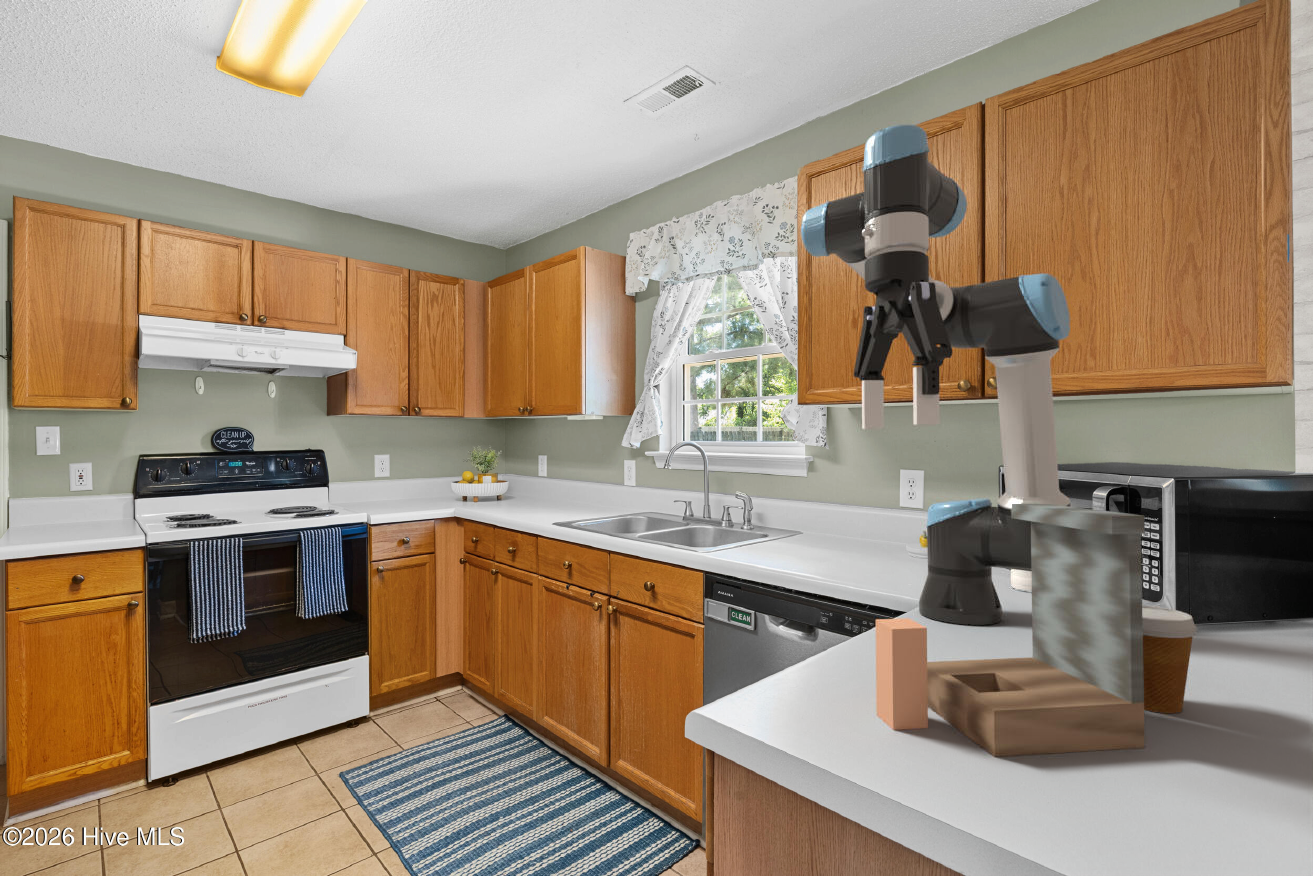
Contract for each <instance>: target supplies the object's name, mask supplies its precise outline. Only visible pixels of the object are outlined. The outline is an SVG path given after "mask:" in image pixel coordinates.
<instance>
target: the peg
mask: <svg viewBox="0 0 1313 876" xmlns="http://www.w3.org/2000/svg"><path fill="white" fill-rule="evenodd" d="M927 662H928V628H927V627H926V626H924V625H922V624H920V623H918V622H916V621H915V620H912V619H911V618H904V617H903V618H885V619H883V618H882V619H881V618H877V619H875V681H876V682H875V684H876V685H875V688H876V690H875V692H876V696H875V697H876V704H875V705H876V706H875V707H876V716H877V717H878V718H879V719H881V720H882V721H883V722H884V723H885V724H886V725H887V726H888V727H889V728H891V730H893V731H897V730H898V731H899V730H914V729H915V730H917V729H929V707H928V686H927Z"/></svg>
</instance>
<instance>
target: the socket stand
mask: <svg viewBox="0 0 1313 876" xmlns="http://www.w3.org/2000/svg"><path fill="white" fill-rule="evenodd" d="M1145 517H1146V516H1145V515H1142V514H1141V515H1140V514H1134V513H1125V512H1118V511H1117V512H1116V511H1109V510H1101V509H1100V510H1099V509H1093V508H1085V507H1084V508H1083V507H1076V506H1075V507H1074V506H1070V507H1067V506H1059V505H1050V504H1042V503H1011V518H1014V519H1021V520H1027V521H1031V571H1032V593H1031V620H1032V621H1031V623H1032V625H1031V627H1032V628H1031V629H1032V630H1031V632H1032V639H1031V640H1032V656H1030V657H1011V658H1010V657H1009V658H991V659H990V658H988V659H984V658H983V659H972V660H971V659H965V660H964V659H963V660H944V661H943V660H941V661H927V686H928V709H930V708H931V709H932V712H934V713H935V712H936V714H937V715H938V716H939V715H940V716H939V717H941V718H942V717H943V718H944V719H943V718H942V719H943V720H945V719H946V720H947V721H948V722H947V721H946V720H945V721H946V722H947V723H949V724H950V725H951V724H952V726H953V727H954V728H955V729H957V730H958V731H959V732H961V733H962V734H963V735H965V736H966V737H967V738H969V739H970V740H972V741H973V742H974V743H976V744H977V745H978V746H980V747H981V748H982V749H984V750H985V751H986V752H987V753H989V754H990V755H991V756H993V757H994V758H996V757H997V758H999V757H1000V758H1001V757H1012V756H1014V757H1015V756H1016V757H1017V756H1030V755H1045V754H1046V755H1047V754H1060V753H1076V752H1078V753H1079V752H1094V751H1107V750H1111V751H1112V750H1126V749H1141V748H1143V749H1144V748H1145V710H1144V680H1143V622H1142V605H1143V572H1142V571H1143V570H1142V568H1143V567H1142V564H1143V563H1142V534H1145V533H1146V531H1145V530H1146V528H1145V527H1146V524H1145V519H1146V518H1145ZM931 709H930V710H931Z"/></svg>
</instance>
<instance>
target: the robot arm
mask: <svg viewBox="0 0 1313 876" xmlns="http://www.w3.org/2000/svg"><path fill="white" fill-rule="evenodd" d="M929 152H930V148H929V144H928V134H927V132H926V131H925V129H924V128H922V127H920V126H917V125H914V124H896V125H891V126H888V127H885V128H883V129H881V130H878V131H876V132H875V133H874V134H872V135H871V136H870V137H869V138H868V139H867V141H866V142H865V146H864V154H863V155H864V156H863V167H862V172H863V191H862V192H859V193H858V192H857V193H855V194H851V195H848V196H844V197H842V198H841V197H840V198H838V199H835V200H832V201H831V200H828V201H826V202H825V203H822V204H820V205H816V206H815V207H814V206H813V207H812V208H810V209H808V210H807V211H806V212H805V213H804V214H803V216H802V220H801V226H800V235H801V236H800V237H801V240H802V243H803V246H804V248H805V250H806V251H807V252H808V253H809V254H810V255H812V256H813V257H817V258H818V257H819V258H820V257H823V256H825V257H829V256H831V255H835V256H836V257H838V258H839V259H840V260H841V261H842V262H844V263H845V264H846V265H847V266H849V267H850V268H851V270H853V271H854V272H855V273H856V274H858V276H860V278H862V279H863V280H864V288H865V290H866V291H868V292H869V293H873V294H874V295H875V296H876V297H875V305H874V306H872V305H869V306H867V305H865V306H864V307H863V310H862V311H863V314H862V316H863V317H862V327H861V333H860V336H859V337H860V338H859V341H858V342H859V343H858V347H857V353H856V358H855V365H854V369H853V377H854V379H855V378H859V381H860V382H861V407H862V408H861V420H862V421H861V422H862V423H861V424H862V425H861V428H862V430H883V429H885V425H884V424H885V418H884V417H885V408H884V407H885V402H884V400H885V395H884V392H885V391H884V390H885V389H884V384H885V383H884V381H885V377H884V376H883V374H882V372H883V369H884V367H885V364H886V361H887V359H888V356H889V352H890V350H891V347H892V344H893V342H894V340H895V339H897V338H898V337H899V335H900V333H901V334H902V335H903V337H904V339H905V342H906V343H907V345H908V347H909V349H910V352H911V354H912V355H913V357H914V359H913V361H912V364H911V365H912V366H913V367H912V390H913V391H912V392H913V395H912V398H913V399H912V400H913V407H912V408H913V409H912V411H913V412H912V413H913V415H912V416H913V418H912V419H913V425H914V426H917V425H918V426H926V425H927V426H930V425H931V426H939V425H941V424H940V390H941V389H940V385H941V384H940V368H941V366H943V363H944V360H945V359H950V358H952V356H953V348H956V349H962V350H963V349H964V350H965V349H967V350H968V349H979V348H984V357H985V359H986V360H987V361H988V362H990V363H991V364H993V366H994V367H995V368H994V369H995V377H996V391H997V402H998V403H997V404H998V415H999V416H998V417H999V426H1000V427H999V428H1000V429H999V430H1000V439H1001V441H1000V442H1001V450H1002V451H1001V453H1002V463H1003V465H1002V466H1003V475H1004V477H1003V478H1004V485H1005V486H1004V487H1005V492H1004V493H1003V494H1002V495H1001V496H1000V497H999V498H998V499H997V506H992V505H993V503H992V502H991V499H989V498H975V499H974V498H971V499H960V500H950V501H941V502H935V503H933V504H931V505H930V506H929V508H927V521H926V522H927V524H926V525H925V526H926V534H927V535H926V536H927V537H926V539H927V541H926V542H927V544H926V546H927V576H926V579H925V582H924V585H923V589H922V591H921V594H920V598H919V599H918V611H919V613H920V614H921V616H923V617H926V618H928V619H932V620H935V621H939V622H943V621H944V623H949V622H950V624H958V625H959V624H960V625H968V624H970V626H973V625H974V626H981V625H982V626H983V625H985V626H986V624H987V625H993V624H999V623H1000V622H1002V621H1003V608H1002V605H1001V601H1000V599H999V596H998V592H997V590H996V588H995V584H994V582H993V574H992V568H999V569H1006V570H1007V569H1008V570H1011V569H1015V570H1023V571H1031V521H1027V520H1021V519H1014V518H1011V503H1042V504H1050V505H1059V506H1067V507H1071V501H1070V498H1069V497H1068V496H1066V495H1065V494H1064V493H1062V492H1061V491H1060V482H1059V469H1058V457H1057V455H1058V454H1057V441H1056V440H1057V439H1056V427H1055V425H1056V423H1055V415H1054V413H1055V412H1054V411H1055V410H1054V400H1053V399H1054V396H1053V385H1052V384H1053V383H1052V368H1051V359H1052V358H1053V357H1054V356H1055V355H1056V353H1057V352H1058V351H1060V341H1062V340H1064V339H1066V338H1067V337H1068V336H1069V335H1070V329H1071V325H1070V321H1071V318H1070V311H1069V307H1068V302H1067V299H1066V296H1065V293H1064V290H1063V288H1062V286H1061V284H1060V282H1059V281H1058V279H1057V278H1056V277H1055V276H1053V274H1052V275H1051V274H1049V273H1036V274H1035V273H1034V274H1027V275H1026V274H1022V275H1019V276H1015V277H1010V278H1004V279H997V280H992V281H988V282H987V281H986V282H982V283H976V284H970V285H962V286H952V287H951V286H949V285H948V284H946V283H945V282H942V281H940V280H935V279H933V278H932V276H930V268H929V267H930V264H929V263H930V258H929V256H928V255H927V254H926V253H928V251H929V249H930V240H929V239H930V238H942V237H944V236H947V235H949V234H951V233H952V232H954V231H955V230H956V229H957V228H958V227H959V226H960V225H961V224H962V221H964V219H965V216H966V213H967V210H968V208H967V207H968V202H967V201H968V200H967V196H966V194H965V192H964V191H963V190H962V188H961V187H960V186H959V184H958V183H957V182H956V181H955V179H953V178H951V177H948V176H947V175H945V174H944V173H942V172H941V171H940V170H939V169H938V168H937V167H936V166H935V165H934V163H932V162H930V160H929ZM937 345H939V346H937ZM1031 572H1032V571H1031Z"/></svg>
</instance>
